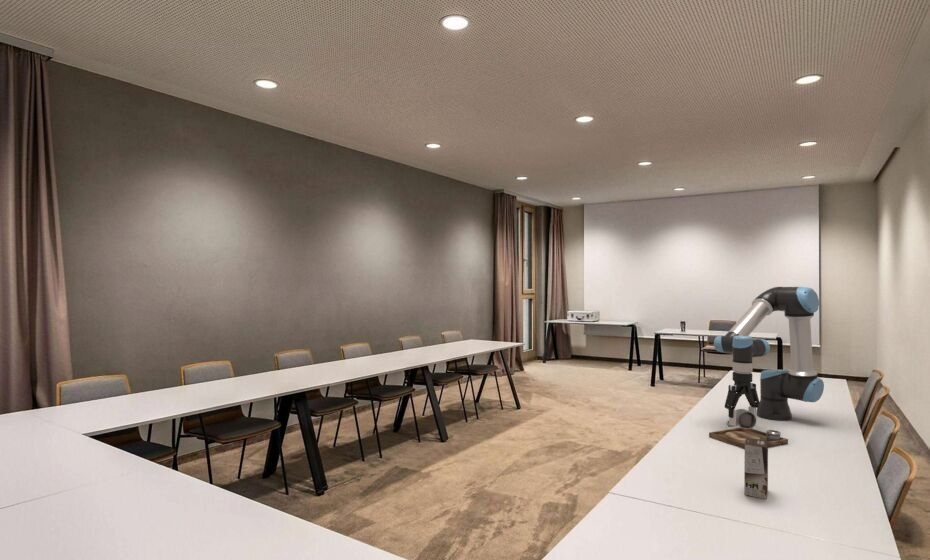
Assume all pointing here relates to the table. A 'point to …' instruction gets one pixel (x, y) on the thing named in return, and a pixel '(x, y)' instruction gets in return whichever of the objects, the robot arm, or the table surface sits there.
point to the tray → (743, 437)
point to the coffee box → (756, 468)
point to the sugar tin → (772, 435)
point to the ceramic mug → (744, 419)
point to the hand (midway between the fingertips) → (742, 423)
